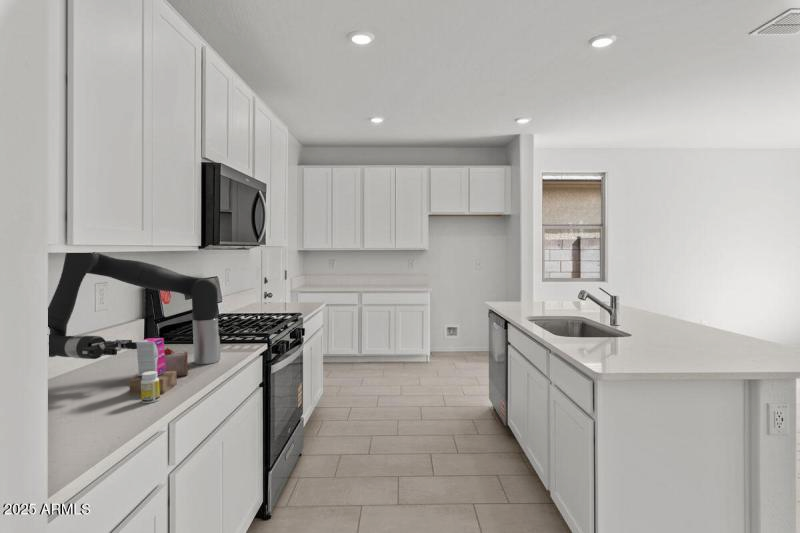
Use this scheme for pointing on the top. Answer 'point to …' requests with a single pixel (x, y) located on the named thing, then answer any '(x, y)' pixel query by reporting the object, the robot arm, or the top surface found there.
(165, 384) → the tan block
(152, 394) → the supplement bottle
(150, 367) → the supplement box
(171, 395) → the top surface
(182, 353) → the food item
